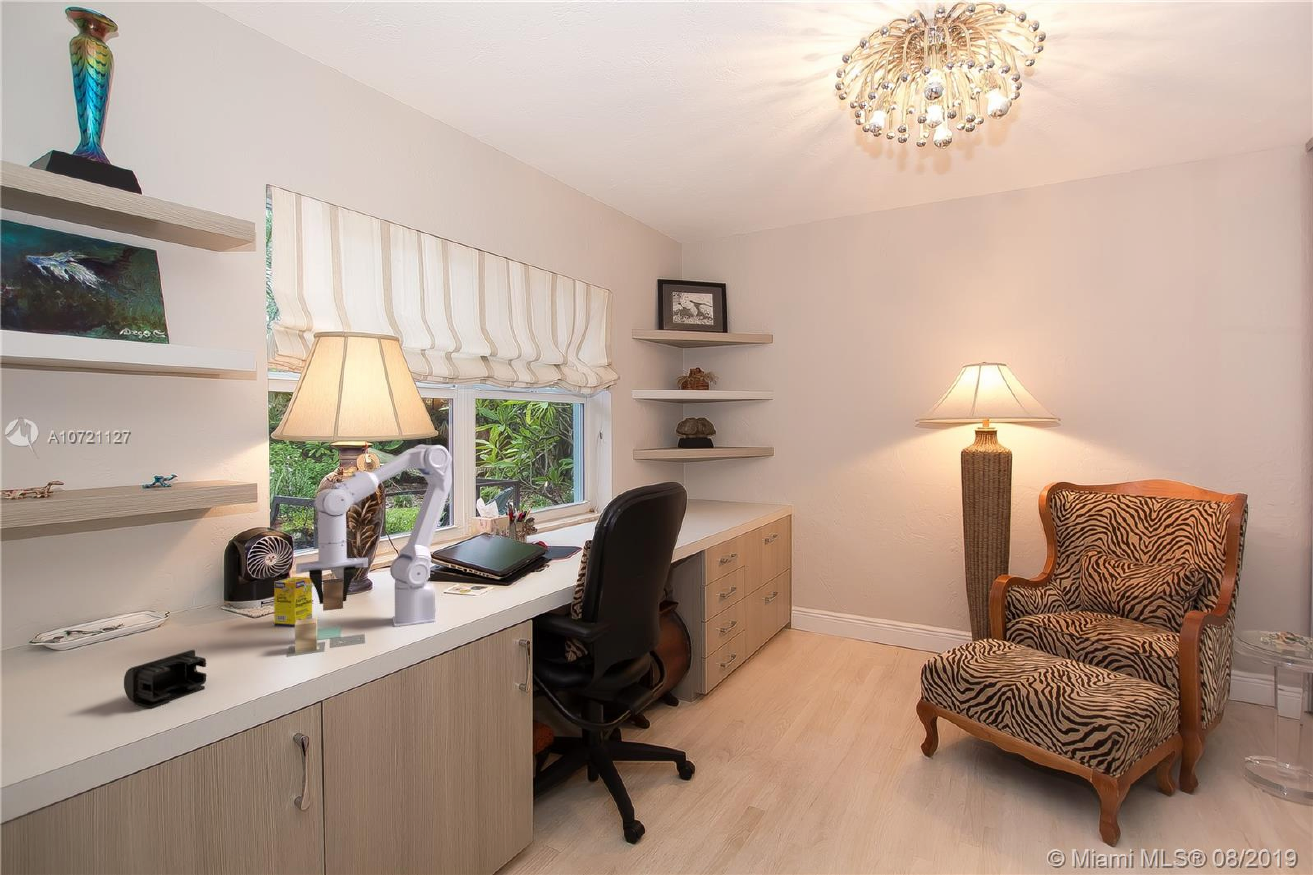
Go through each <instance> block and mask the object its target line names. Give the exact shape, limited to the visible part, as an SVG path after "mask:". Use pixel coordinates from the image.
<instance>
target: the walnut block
mask: <svg viewBox="0 0 1313 875" xmlns="http://www.w3.org/2000/svg"><path fill="white" fill-rule="evenodd" d="M343 586H344V577H343V578H341V577H340V578H335V579H334V578H333V579H322V590H323V604H322V611H323V612H327V611H334V610H342V609H344V601H343Z"/></svg>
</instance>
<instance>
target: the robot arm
mask: <svg viewBox="0 0 1313 875" xmlns="http://www.w3.org/2000/svg"><path fill="white" fill-rule="evenodd" d="M452 461H453V456H452V455H451V454H450V452H449V451H448V449H447V448H446V447H445V446H443V445H441V444H436V445H435V444H434V445H432V444H431V445H429V444H428V445H427V444H417V445H416V446H414V447H413V448H409V449H407V450H405V451H403V452H402V453H400V454H398V455H397V456H395V457H394V458H392V459H390V460H389V461H387V462H385V463H384V464H382V465H380V466H379V467H378V468H376V469H374V470H372V471H371V472H369V471H365V470H362V471H354V472H352V473H351V475H352V476H351V477H349V478H347V479H345V480H344V481H341V482H340V483H339V482H335V483H334V484H333V488H326V489H323V490H321V491H319V492H318V494H317V496H316V497H315V500H314V501H313V507H314V509H315V510H316V511H317V512H318V513H317V517H318V520H317V525H318V526H317V534H318V535H317V538H318V540H317V542H318V544H317V545H318V550H317V553H318V560H316V561H315V560H314V561H307V562H301V563H299V562H297V563H295V574H296V575H298V574H302V573H308V577H310V579H311V581H312V585H313V586H314V589H315V591H316V593H317V597H318V602H319V604H320V605H323V572H325V571H334V570H335V571H336V570H343V572H342V573H343V602H347V597H348V592H349V589H350V585H351V584H352V580H353V578H354V576H355V575H356V568H368V567H369V559H368V558H369V557H356V558H355V557H353V558H351V557H349V558H348V557H347V555H348V554H347V549H348V548H347V547H348V546H347V513H348V511H349V510H350V508H351V506H353V505H355V504H357V503H358V502H360V501H363V499H366V498H367V497H368V496H370V495H372V494H373V493H376V492H377V490H378V487H379V485H380V484H381V483H383V482H385V481H387V480H389V479H392V478H393V477H395V476H397V475H398V474H402V473H403V472H404V471H406V470H408V469H416V470H417V471H418V472H419V473H420V474H422V475H423V478H424V479H425V481H426V482H427V488H426V491H425V494H424V496H423V499H422V501H421V505H420V506H419V509H418V510H419V511H418V513H417V515H416V518H415V522H414V523H413V528H412V529H411V532H410V535H409V538H408V540H407V543H406V544H405V545H404V546H403V547H402V548H401V549H400V551H399V553H398V555H397V556H396V558H395V559H393V561H392V562H391V564H390V567H389V572H390V576H391V577H392V578H393V580H394V616H392V618H391V619H392V623H393V627H395V628H396V627H405V626H412V625H419V624H426V623H434V622H436V609H437V608H436V607H437V606H436V590H435V584H434V583H432V582H430V583H429V582H428V580H429V578H430V575H431V561H432V556H431V553H430V547H431V545H432V542H433V538H434V536H435V533H436V531H437V527H438V525H439V523H440V519H441V517H442V514H443V513H442V512H443V510H444V508H445V504H446V502H447V499H448V496H449V493H450V490H451V487H452V484H453V477H452V476H453V474H452V467H451V465H452Z"/></svg>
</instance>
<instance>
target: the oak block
mask: <svg viewBox="0 0 1313 875" xmlns="http://www.w3.org/2000/svg"><path fill="white" fill-rule="evenodd" d="M317 629H318V617H312V618H309V619H301V620H296V623H295V627H294V646H295V653H301V652H308V651H316V650H317V643H318V640H317Z"/></svg>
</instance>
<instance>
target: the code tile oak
mask: <svg viewBox="0 0 1313 875" xmlns="http://www.w3.org/2000/svg"><path fill="white" fill-rule="evenodd" d="M325 647H326V641H320V642H317V650H316V651H308V652H301V653H295V645H291V646H288V648H287V649H288V650H287V653H286V658H287V657H294V656H296V657H297V656H303V655H309V654H311V655H312V654H317V653H324V652H325V649H326V648H325Z"/></svg>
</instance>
